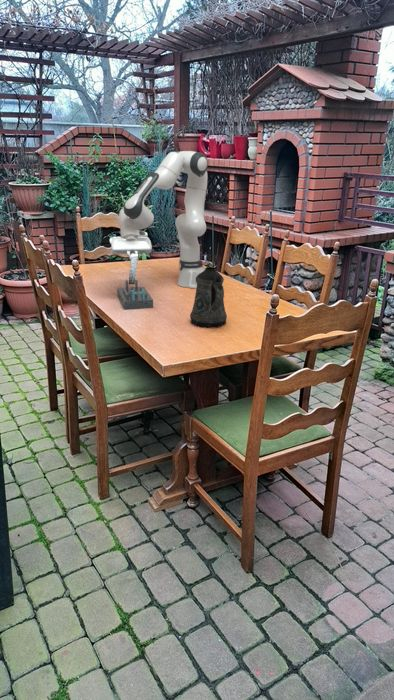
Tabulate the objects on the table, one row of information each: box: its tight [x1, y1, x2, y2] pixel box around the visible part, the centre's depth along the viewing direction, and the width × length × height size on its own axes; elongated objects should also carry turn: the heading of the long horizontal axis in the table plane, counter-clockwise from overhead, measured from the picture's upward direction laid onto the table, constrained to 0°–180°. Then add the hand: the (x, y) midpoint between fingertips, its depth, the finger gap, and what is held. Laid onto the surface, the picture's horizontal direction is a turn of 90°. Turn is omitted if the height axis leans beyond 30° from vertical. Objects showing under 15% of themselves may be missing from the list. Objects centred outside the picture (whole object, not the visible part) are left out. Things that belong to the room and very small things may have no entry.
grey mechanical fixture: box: [117, 279, 154, 310], centre depth 261 cm, size 14×27×8 cm, turn 15°
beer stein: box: [189, 266, 228, 329], centre depth 229 cm, size 16×19×25 cm
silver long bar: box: [128, 253, 139, 285], centre depth 260 cm, size 3×23×2 cm
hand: (133, 259), depth 255 cm, fingers closed, pressing on silver long bar
